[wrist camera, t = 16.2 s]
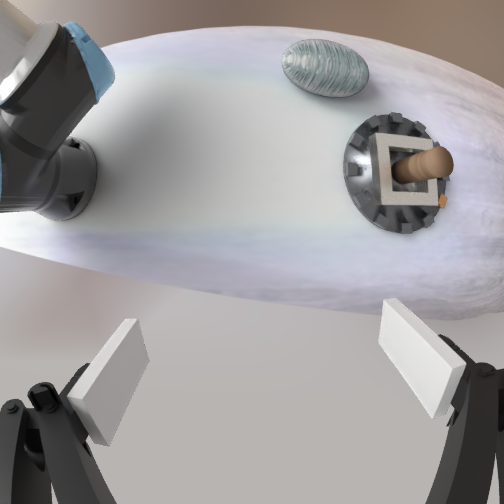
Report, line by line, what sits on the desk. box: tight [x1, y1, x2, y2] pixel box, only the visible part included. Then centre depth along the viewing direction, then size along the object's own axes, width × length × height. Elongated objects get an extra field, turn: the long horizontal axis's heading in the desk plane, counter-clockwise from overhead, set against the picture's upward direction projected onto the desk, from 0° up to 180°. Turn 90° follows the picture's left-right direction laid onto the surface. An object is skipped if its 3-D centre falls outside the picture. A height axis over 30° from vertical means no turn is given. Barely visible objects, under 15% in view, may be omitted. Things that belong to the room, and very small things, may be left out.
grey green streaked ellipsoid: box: [282, 39, 369, 97], centre depth 36 cm, size 14×10×10 cm
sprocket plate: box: [343, 112, 450, 233], centre depth 40 cm, size 20×20×4 cm
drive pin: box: [391, 146, 454, 185], centre depth 35 cm, size 4×4×12 cm
